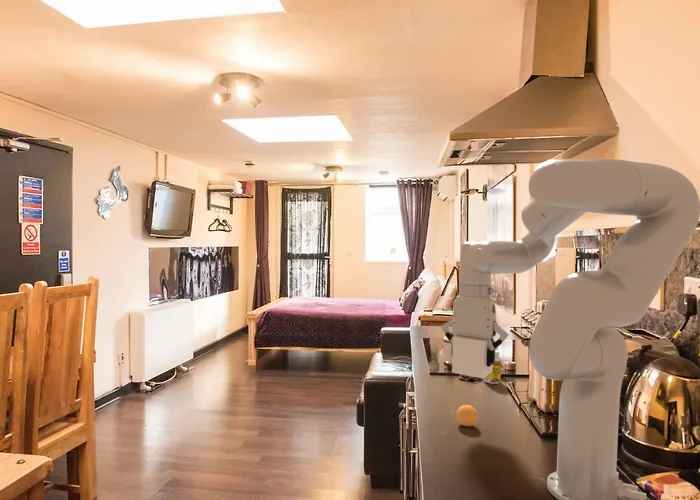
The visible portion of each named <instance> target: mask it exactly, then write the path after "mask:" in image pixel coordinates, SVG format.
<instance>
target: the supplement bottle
mask: <svg viewBox="0 0 700 500" xmlns="http://www.w3.org/2000/svg"><path fill="white" fill-rule="evenodd" d="M501 377H502V357H500V351H499V349H498V350H495V362H494V363H493V370H492V372H491V373H489V374H488V375H487V376H486V377H485V378H482V380H483V382H484V383H487V384H493V385H495V384H496V385H497V384H500V383H501Z"/></svg>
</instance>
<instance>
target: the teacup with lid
mask: <svg viewBox="0 0 700 500" xmlns="http://www.w3.org/2000/svg"><path fill="white" fill-rule="evenodd" d="M452 334H453V333H452ZM453 335H454V334H453ZM442 341H443V343H442V345H443V347H442V362H443V363H444V362H446V361H449V362H452V355H451V353H452V344H451V343H450V341H449V340H448V338H447V337H446V336H444V337H443V338H442Z"/></svg>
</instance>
